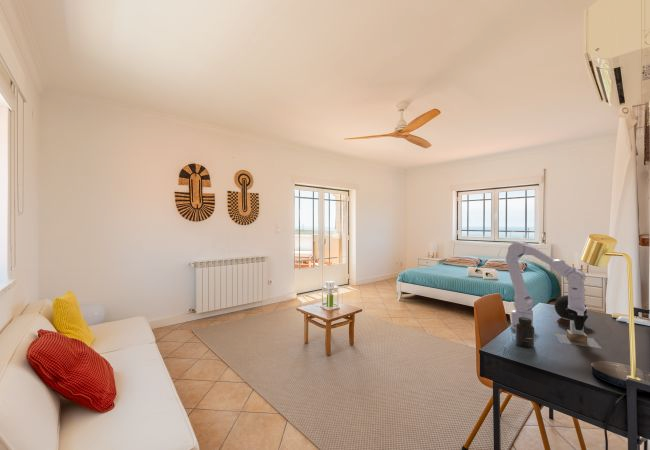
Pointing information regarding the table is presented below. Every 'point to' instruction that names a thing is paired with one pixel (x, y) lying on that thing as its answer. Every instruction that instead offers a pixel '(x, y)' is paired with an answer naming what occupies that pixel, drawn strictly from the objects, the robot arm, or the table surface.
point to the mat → (590, 343)
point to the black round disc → (563, 311)
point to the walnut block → (577, 337)
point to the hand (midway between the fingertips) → (576, 327)
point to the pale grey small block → (573, 329)
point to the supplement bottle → (525, 333)
